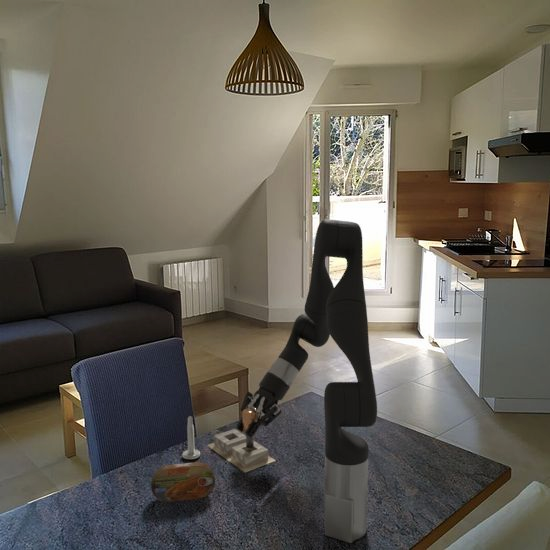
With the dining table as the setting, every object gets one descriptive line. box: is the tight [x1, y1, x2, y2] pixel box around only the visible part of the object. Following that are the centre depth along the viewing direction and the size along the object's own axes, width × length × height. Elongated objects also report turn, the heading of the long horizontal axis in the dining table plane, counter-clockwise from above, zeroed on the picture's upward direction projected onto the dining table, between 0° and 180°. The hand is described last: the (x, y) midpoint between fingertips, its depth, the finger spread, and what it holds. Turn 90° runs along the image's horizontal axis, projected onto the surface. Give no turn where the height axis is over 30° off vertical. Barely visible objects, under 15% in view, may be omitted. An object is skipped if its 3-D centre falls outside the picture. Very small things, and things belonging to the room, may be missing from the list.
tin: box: [150, 461, 216, 503], centre depth 134 cm, size 15×3×8 cm, turn 99°
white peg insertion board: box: [206, 428, 277, 473], centre depth 154 cm, size 19×10×4 cm, turn 38°
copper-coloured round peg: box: [242, 408, 256, 448], centre depth 149 cm, size 4×4×10 cm
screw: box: [181, 415, 201, 461], centre depth 151 cm, size 13×5×5 cm
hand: (243, 432), depth 148 cm, fingers closed on copper-coloured round peg, 3 cm apart
